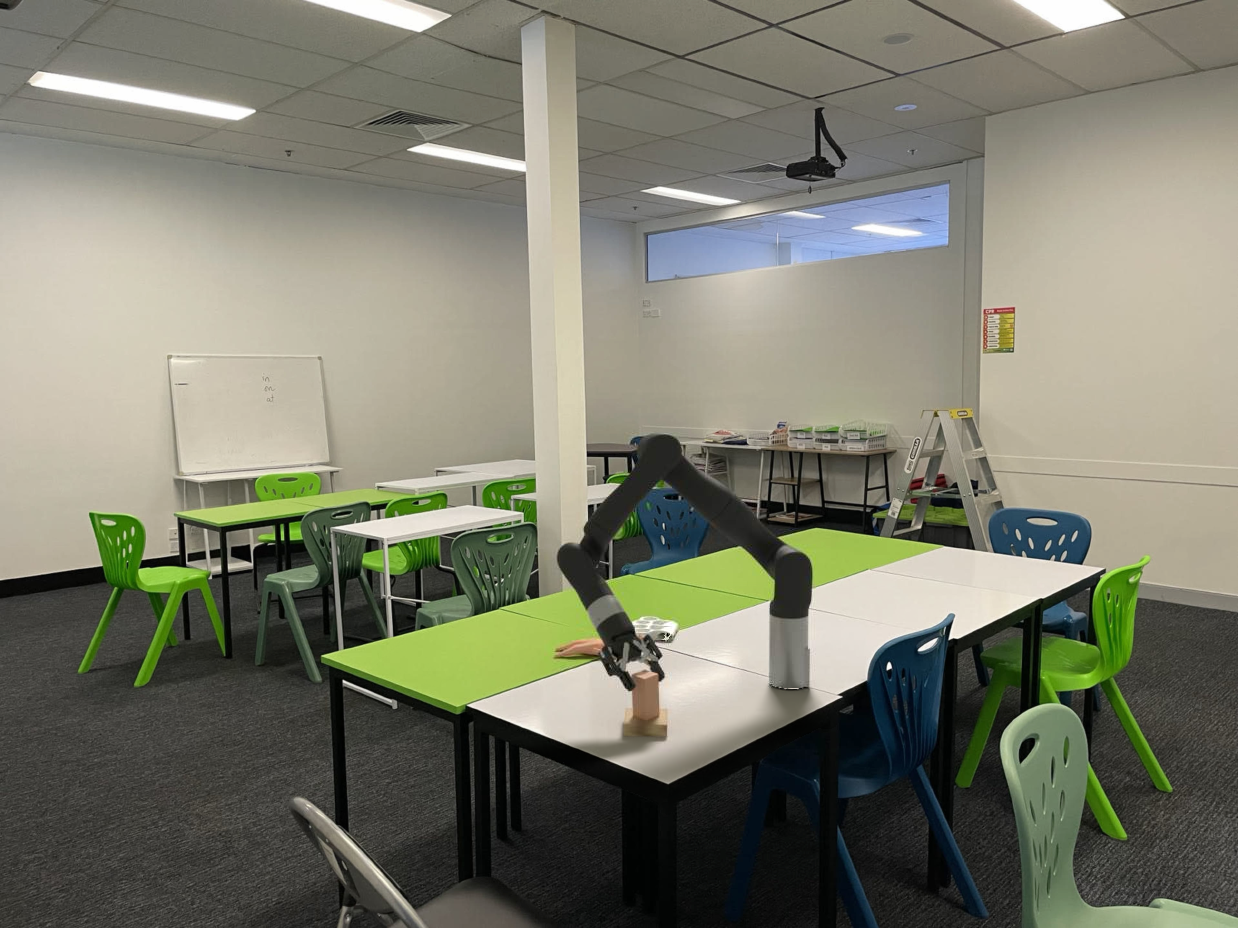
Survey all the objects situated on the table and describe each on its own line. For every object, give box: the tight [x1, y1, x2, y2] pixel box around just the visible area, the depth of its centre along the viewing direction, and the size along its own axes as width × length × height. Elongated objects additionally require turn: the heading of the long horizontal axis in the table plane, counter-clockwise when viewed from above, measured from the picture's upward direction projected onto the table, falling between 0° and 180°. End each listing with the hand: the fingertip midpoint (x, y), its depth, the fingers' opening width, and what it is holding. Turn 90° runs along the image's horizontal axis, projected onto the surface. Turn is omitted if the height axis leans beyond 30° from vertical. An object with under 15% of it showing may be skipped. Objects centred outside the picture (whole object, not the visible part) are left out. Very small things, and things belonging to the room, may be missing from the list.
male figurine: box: [554, 635, 645, 660], centre depth 235 cm, size 11×5×25 cm
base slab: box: [623, 707, 668, 738], centre depth 183 cm, size 9×9×3 cm
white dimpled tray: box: [631, 616, 679, 642], centre depth 253 cm, size 3×18×15 cm
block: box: [630, 669, 660, 721], centre depth 183 cm, size 4×4×9 cm
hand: (647, 684), depth 182 cm, fingers open, 8 cm apart
